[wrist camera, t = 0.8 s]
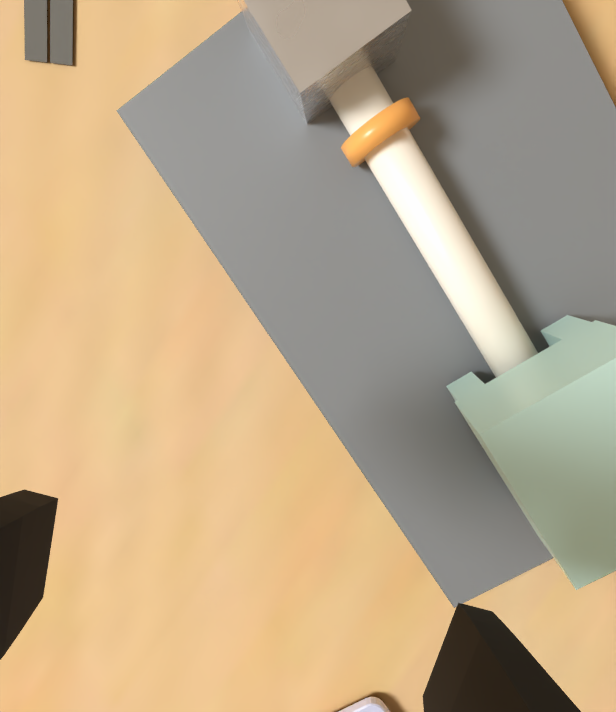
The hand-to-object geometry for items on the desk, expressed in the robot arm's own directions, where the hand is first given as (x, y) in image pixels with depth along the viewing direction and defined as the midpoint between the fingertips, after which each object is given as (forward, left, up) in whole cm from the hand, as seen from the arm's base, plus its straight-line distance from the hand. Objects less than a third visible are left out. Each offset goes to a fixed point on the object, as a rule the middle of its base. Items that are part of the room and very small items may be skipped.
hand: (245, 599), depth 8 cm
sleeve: (-4, -7, -8) cm, 11 cm away
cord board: (+1, -7, -10) cm, 12 cm away
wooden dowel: (+1, -7, -8) cm, 11 cm away
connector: (+9, -7, -8) cm, 14 cm away
